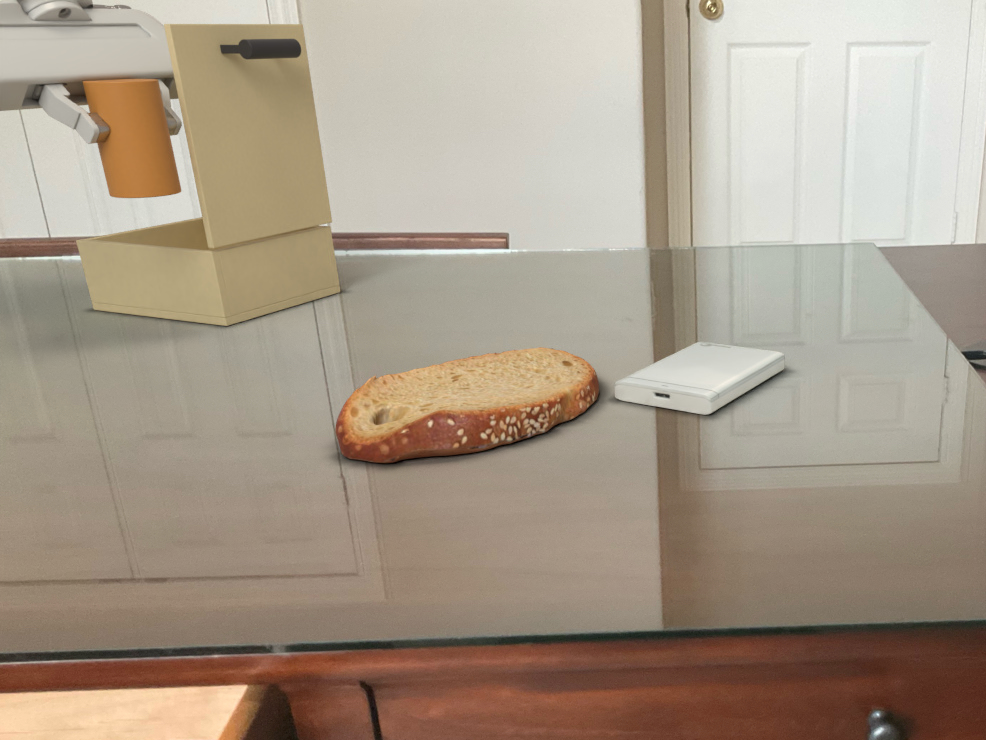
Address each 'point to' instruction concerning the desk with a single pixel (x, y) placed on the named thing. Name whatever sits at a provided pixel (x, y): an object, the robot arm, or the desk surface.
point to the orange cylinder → (134, 138)
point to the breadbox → (207, 272)
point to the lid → (250, 128)
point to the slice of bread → (464, 405)
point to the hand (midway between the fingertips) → (137, 134)
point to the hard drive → (700, 377)
